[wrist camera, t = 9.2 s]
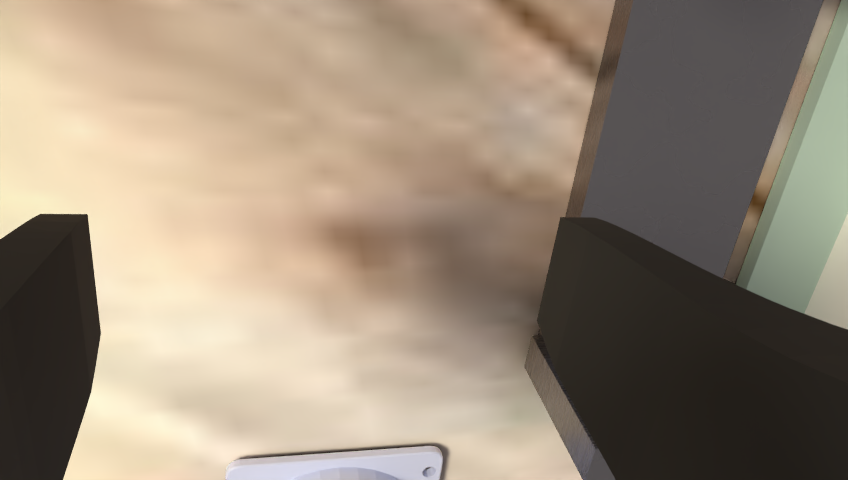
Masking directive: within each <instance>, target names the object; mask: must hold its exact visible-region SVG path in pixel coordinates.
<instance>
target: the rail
mask: <svg viewBox="0 0 848 480" xmlns="http://www.w3.org/2000/svg"><path fill="white" fill-rule="evenodd" d="M804 314H806V315H809V316H812V317H814V318H817V319H819V320H822V321H825V322H827V323H830V324H833V325H836V326H839V327H842V328H845V329H848V214H847V216H846V218H845V221H844V223H843V225H842V227H841V230H840V232H839V234H838V237H837V239H836V241H835V244H834V246H833V248H832V251H831V253H830V255H829V257H828V260H827V262H826V264H825V267H824V269H823V271H822V274H821V276H820V278H819V281H818V283H817V285H816V287H815V290H814V292H813V294H812V297H811V299H810V301H809V304H808V306H807V308H806V310H805V313H804Z"/></svg>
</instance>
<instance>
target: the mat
mask: <svg viewBox="0 0 848 480" xmlns="http://www.w3.org/2000/svg"><path fill="white" fill-rule="evenodd" d="M847 214H848V0H841V2H840V5H839V8H838V10H837V13H836V16H835V18H834V21H833V24H832V26H831V29H830V32H829V34H828V37H827V40H826V43H825V45H824V48H823V51H822V53H821V56H820V59H819V61H818V64H817V67H816V69H815V72H814V75H813V77H812V80H811V83H810V86H809V88H808V91H807V94H806V96H805V99H804V102H803V104H802V107H801V110H800V112H799V115H798V118H797V120H796V123H795V126H794V129H793V131H792V134H791V137H790V139H789V142H788V145H787V147H786V150H785V153H784V155H783V158H782V161H781V163H780V166H779V169H778V171H777V174H776V177H775V180H774V182H773V185H772V188H771V190H770V193H769V196H768V198H767V201H766V204H765V206H764V209H763V212H762V214H761V217H760V220H759V223H758V225H757V228H756V231H755V233H754V236H753V239H752V241H751V244H750V247H749V249H748V252H747V255H746V257H745V260H744V263H743V266H742V268H741V271H740V274H739V276H738V279H737V282H736V284H735V285H738V286H740V287H742V288H744V289H746V290H749V291H751V292H753V293H755V294H757V295H760V296H762V297H764V298H766V299H769V300H771V301H773V302H776V303H778V304H781V305H783V306H785V307H788V308H790V309H793V310H796V311H798V312H801V313H805V310H806V308H807V306H808V304H809V301H810V299H811V297H812V294H813V292H814V290H815V287H816V285H817V283H818V281H819V278H820V276H821V274H822V271H823V269H824V267H825V264H826V262H827V260H828V257H829V255H830V253H831V251H832V248H833V246H834V244H835V241H836V239H837V237H838V234H839V232H840V230H841V227H842V225H843V223H844V221H845V218H846V216H847Z"/></svg>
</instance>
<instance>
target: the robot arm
mask: <svg viewBox="0 0 848 480" xmlns="http://www.w3.org/2000/svg"><path fill="white" fill-rule="evenodd" d="M537 321H538V324H539V327H540V330H541V333H542V336H543V339H544V342H545V345H546V348H547V350H548V353H549V355H550V358H551V361H552V363H553V366H554V368H555V371H556V372H557V374H558V376H559V378H560V380H561V382H562V384H563V386H564V388H565V389H566V391H567V393H568V395H569V397H570V399H571V400H572V402H573V404H574V406H575V408H576V410H577V411H578V413H579V415H580V417H581V419H582V420H583V422H584V424H585V426H586V427H587V429H588V431H589V433H590V435H591V436H592V438H593V440H594V442H595V444H596V445H597V447H598V449H599V451H600V453H601V454H602V456H603V458H604V460H605V461H606V463H607V465H608V467H609V469H610V470H611V472H612V474H613V476H614V478H615V480H848V329H845V328H842V327H839V326H836V325H833V324H830V323H827V322H825V321H822V320H819V319H817V318H814V317H812V316H809V315H806V314H804V313H801V312H798V311H796V310H793V309H790V308H788V307H785V306H783V305H781V304H778V303H776V302H773V301H771V300H769V299H766V298H764V297H762V296H760V295H757V294H755V293H753V292H751V291H749V290H746V289H744V288H742V287H740V286H738V285H735V284H733V283H731V282H729V281H727V280H725V279H723V278H721V277H719V276H716V275H714V274H712V273H710V272H708V271H706V270H704V269H702V268H700V267H698V266H696V265H694V264H692V263H690V262H688V261H686V260H684V259H682V258H681V257H679V256H677V255H675V254H673V253H671V252H669V251H667V250H665V249H663V248H661V247H659V246H657V245H655V244H653V243H651V242H649V241H647V240H645V239H643V238H641V237H639V236H637V235H635V234H633V233H631V232H629V231H627V230H625V229H623V228H621V227H618V226H616V225H614V224H611V223H609V222H606V221H604V220H601V219H598V218H592V217H561V218H560V222H559V227H558V231H557V235H556V240H555V244H554V249H553V253H552V257H551V262H550V266H549V270H548V275H547V279H546V284H545V288H544V292H543V297H542V301H541V305H540V310H539V314H538V319H537ZM100 335H101V331H100V323H99V314H98V305H97V296H96V287H95V278H94V269H93V260H92V251H91V242H90V233H89V224H88V215H87V214H40V215H38V216H36V217H34V218H32V219H31V220H29V221H27V222H26V223H24V224H23V225H21V226H20V227H18V228H17V229H15V230H14V231H12V232H11V233H9V234H8V235H6V236H5V237H3V238H2V239H0V480H63V478H64V474H65V471H66V468H67V465H68V462H69V459H70V456H71V453H72V450H73V447H74V444H75V441H76V438H77V435H78V431H79V428H80V425H81V422H82V419H83V416H84V413H85V409H86V406H87V403H88V400H89V397H90V393H91V389H92V383H93V378H94V372H95V366H96V360H97V354H98V347H99V341H100ZM442 464H443V456H442V453H441V450H440V449H439V448H438V447H436V446H421V447H407V448H393V449H379V450H365V451H351V452H336V453H322V454H308V455H294V456H280V457H266V458H252V459H239V460H235V461H233V462H231V463H229V465H228V466H227V468H226V480H440V475H441V470H442ZM427 467H431V468H429V469H425V468H427Z"/></svg>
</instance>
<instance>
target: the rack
mask: <svg viewBox="0 0 848 480" xmlns="http://www.w3.org/2000/svg"><path fill="white" fill-rule="evenodd" d="M822 2H823V0H616V2H615V6H614V10H613V15H612V19H611V23H610V28H609V32H608V36H607V40H606V45H605V49H604V53H603V58H602V62H601V66H600V71H599V75H598V79H597V84H596V88H595V92H594V97H593V101H592V105H591V109H590V114H589V118H588V122H587V127H586V131H585V135H584V140H583V144H582V148H581V153H580V157H579V161H578V166H577V170H576V174H575V178H574V183H573V187H572V191H571V196H570V200H569V204H568V209H567V213H566V217H592V218H598V219H601V220H604V221H606V222H609V223H611V224H614V225H616V226H618V227H621V228H623V229H625V230H627V231H629V232H631V233H633V234H635V235H637V236H639V237H641V238H643V239H645V240H647V241H649V242H651V243H653V244H655V245H657V246H659V247H661V248H663V249H665V250H667V251H669V252H671V253H673V254H675V255H677V256H679V257H681V258H682V259H684V260H686V261H688V262H690V263H692V264H694V265H696V266H698V267H700V268H702V269H704V270H706V271H708V272H710V273H712V274H714V275H716V276H719V277H721V278H723V276H724V274H725V271H726V268H727V265H728V263H729V260H730V257H731V254H732V252H733V249H734V246H735V243H736V240H737V238H738V235H739V232H740V229H741V227H742V224H743V221H744V218H745V216H746V213H747V210H748V207H749V204H750V202H751V199H752V196H753V193H754V191H755V188H756V185H757V182H758V180H759V177H760V174H761V171H762V168H763V166H764V163H765V160H766V157H767V155H768V152H769V149H770V146H771V143H772V141H773V138H774V135H775V132H776V130H777V127H778V124H779V121H780V119H781V116H782V113H783V110H784V107H785V105H786V102H787V99H788V96H789V94H790V91H791V88H792V85H793V83H794V80H795V77H796V74H797V71H798V69H799V66H800V63H801V60H802V58H803V55H804V52H805V49H806V47H807V44H808V41H809V38H810V35H811V33H812V30H813V27H814V24H815V22H816V19H817V16H818V13H819V11H820V8H821V5H822ZM525 369H526V371H527V373H528V375H529V377H530V379H531V380H532V382H533V384H534V386H535V388H536V390H537V392H538V394H539V396H540V398H541V400H542V402H543V404H544V406H545V408H546V409H547V411H548V413H549V415H550V417H551V419H552V421H553V423H554V425H555V427H556V429H557V431H558V433H559V435H560V436H561V438H562V440H563V442H564V444H565V446H566V448H567V450H568V452H569V454H570V456H571V458H572V460H573V462H574V464H575V465H576V467H577V469H578V471H579V473H580V475H581V477H582V479H583V480H615V478H614V476H613V474H612V472H611V470H610V469H609V467H608V465H607V463H606V461H605V460H604V458H603V456H602V454H601V453H600V451H599V449H598V447H597V445H596V444H595V442H594V440H593V438H592V436H591V435H590V433H589V431H588V429H587V427H586V426H585V424H584V422H583V420H582V419H581V417H580V415H579V413H578V411H577V410H576V408H575V406H574V404H573V402H572V400H571V399H570V397H569V395H568V393H567V391H566V389H565V388H564V386H563V384H562V382H561V380H560V378H559V376H558V374H557V372H556V371H555V368H554V366H553V363H552V361H551V358H550V355H549V353H548V350H547V348H546V345H545V342H544V339H543V336H542V333H541V330H540V329H539V334H538V335H537V336H532V337H531V341H530V346H529V350H528V354H527V359H526V363H525Z"/></svg>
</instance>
